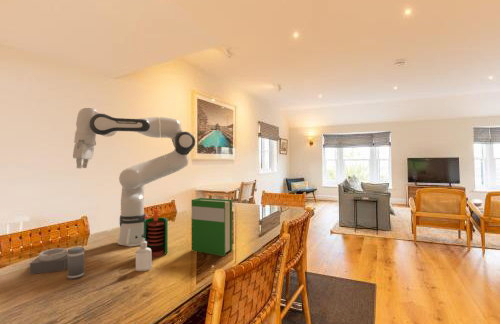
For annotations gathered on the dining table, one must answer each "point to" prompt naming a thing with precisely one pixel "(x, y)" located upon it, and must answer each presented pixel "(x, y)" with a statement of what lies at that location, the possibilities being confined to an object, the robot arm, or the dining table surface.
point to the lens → (75, 263)
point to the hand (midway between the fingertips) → (81, 168)
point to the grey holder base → (50, 261)
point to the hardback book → (212, 225)
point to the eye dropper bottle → (143, 257)
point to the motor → (156, 234)
